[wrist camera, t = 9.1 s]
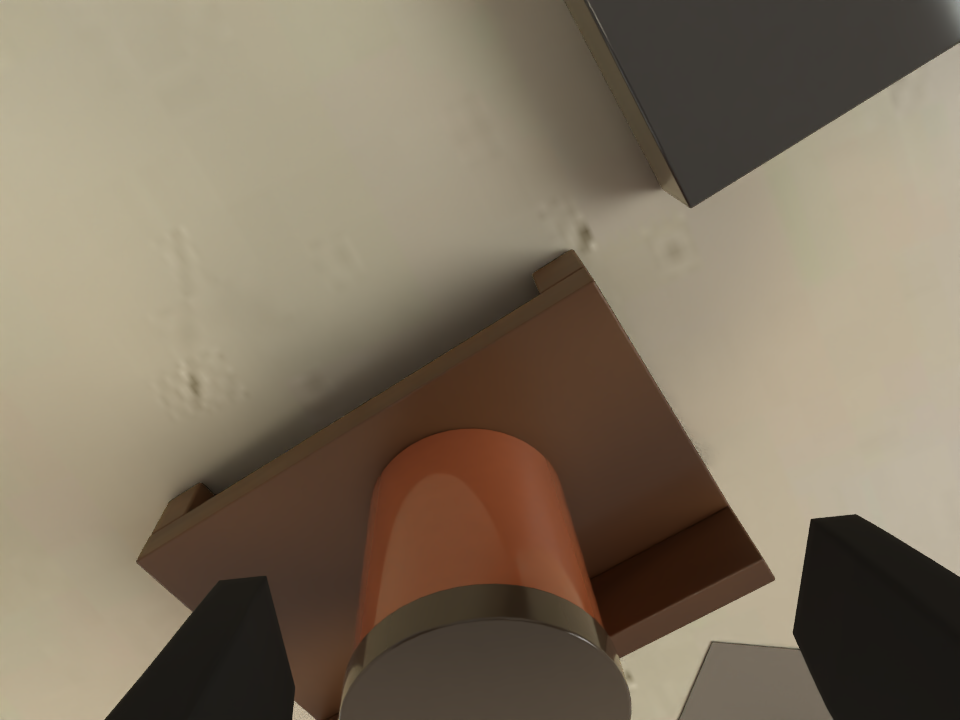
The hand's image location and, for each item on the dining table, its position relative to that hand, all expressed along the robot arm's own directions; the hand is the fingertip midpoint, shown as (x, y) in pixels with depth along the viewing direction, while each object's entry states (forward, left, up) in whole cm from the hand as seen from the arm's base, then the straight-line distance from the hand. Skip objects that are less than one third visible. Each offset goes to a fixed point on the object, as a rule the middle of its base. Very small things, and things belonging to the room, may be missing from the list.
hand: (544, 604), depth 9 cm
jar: (+3, -3, -7) cm, 8 cm away
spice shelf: (+3, -4, -10) cm, 11 cm away
